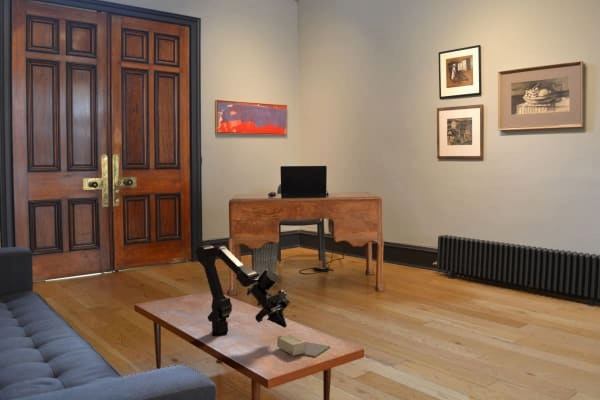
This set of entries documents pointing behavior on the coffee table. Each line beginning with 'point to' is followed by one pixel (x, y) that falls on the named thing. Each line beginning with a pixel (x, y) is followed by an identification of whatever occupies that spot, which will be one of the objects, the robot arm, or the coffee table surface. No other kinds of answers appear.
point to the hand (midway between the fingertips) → (285, 326)
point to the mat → (314, 349)
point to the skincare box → (291, 344)
